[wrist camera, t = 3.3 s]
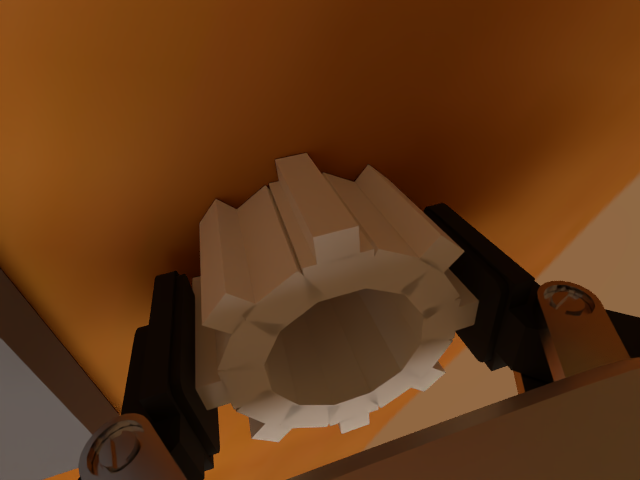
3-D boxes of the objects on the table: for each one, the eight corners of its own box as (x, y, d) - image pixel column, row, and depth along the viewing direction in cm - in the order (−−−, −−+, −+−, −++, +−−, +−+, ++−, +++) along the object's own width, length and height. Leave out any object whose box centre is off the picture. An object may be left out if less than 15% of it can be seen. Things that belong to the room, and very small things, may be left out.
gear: (153, 185, 9) (133, 283, 6) (411, 130, 11) (505, 188, 7) (226, 359, 14) (236, 471, 10) (404, 305, 15) (462, 391, 12)
